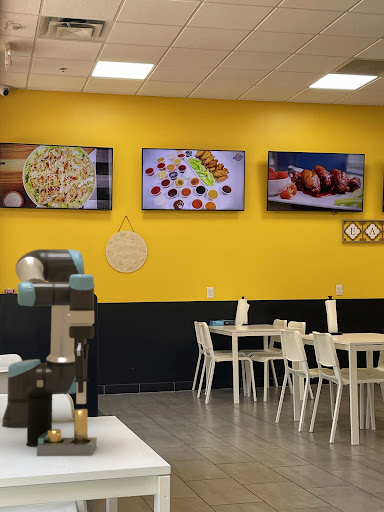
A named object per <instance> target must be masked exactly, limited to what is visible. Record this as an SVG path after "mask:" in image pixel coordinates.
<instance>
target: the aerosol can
mask: <svg viewBox="0 0 384 512" xmlns="http://www.w3.org/2000/svg"><path fill="white" fill-rule="evenodd" d="M53 395H54V394H53V393H51V391H50V390H49V389H47V388H44V387H43V380H38V381H37V387H36V388H34V389H32V390H31V391H30V392H29V393H28V394H27V427H26V443H25V445H26V446H27V447H32V448H37V445H38V438H39V437H40V436H41V435H42V434H43V433H48V430H51V429H53Z"/></svg>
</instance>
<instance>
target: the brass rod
mask: <svg viewBox="0 0 384 512" xmlns="http://www.w3.org/2000/svg"><path fill="white" fill-rule="evenodd" d="M73 431H74V432H73V434H74V435H73V438H74V443H88V438H89V437H88V435H89V434H88V432H89V431H88V409H87V408H80V409H79V408H76V409H74V410H73Z"/></svg>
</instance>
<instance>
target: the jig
mask: <svg viewBox="0 0 384 512" xmlns="http://www.w3.org/2000/svg"><path fill="white" fill-rule="evenodd" d="M97 439H98V438H97V437H88V443H74V437H62V429H59V428H54V429H53V428H52V429H51V430H48V433H43V434H42V435H41V436H40V437H39V438H38V445H37V447H36V456H37V457H45V456H46V457H57V456H58V457H61V456H63V457H66V456H72V457H73V456H76V457H77V456H82V457H83V456H93V454H94V453H95V451H96V449H97V443H98V441H97Z"/></svg>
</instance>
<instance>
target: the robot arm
mask: <svg viewBox="0 0 384 512" xmlns="http://www.w3.org/2000/svg"><path fill="white" fill-rule="evenodd" d="M15 274H16V276H17V278H18V279H19V280H20V282H19V283H18V286H17V304H18V305H20V306H27V307H39V306H40V307H41V306H42V307H44V306H45V307H47V306H48V307H49V306H51V322H50V323H51V330H50V353H49V355H48V356H47V357H46V362H44V363H43V362H42V363H41V359H39V358H38V359H37V358H35V359H26V360H20V361H16V362H13V363H11V364H9V366H8V368H7V376H6V377H7V405H6V407H5V411H4V413H3V417H2V424H3V425H4V426H3V425H2V426H3V427H5V426H7V427H6V428H13V429H14V428H27V394H28V393H29V392H30V391H31V390H32V389H34V388H36V387H37V381H38V380H43V387H44V388H47V389H49V390H50V391H51V393H53V395H68V394H76V399H75V401H76V405H85V404H87V382H88V381H89V378H88V358H89V349H90V348H89V347H90V345H89V343H88V342H87V340H88V339H93V338H94V336H95V326H94V325H93V324H95V306H94V305H95V303H94V302H95V287H96V286H95V278H94V276H93V274H85V264H84V259H83V256H82V253H81V252H80V251H79V250H75V249H65V248H64V249H60V248H59V249H42V248H40V249H39V248H38V249H34V250H31V251H29V252H26V253H25V254H23V255H22V256H20V257H19V259H18V260H17V262H16V264H15ZM75 339H76V341H75Z"/></svg>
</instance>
